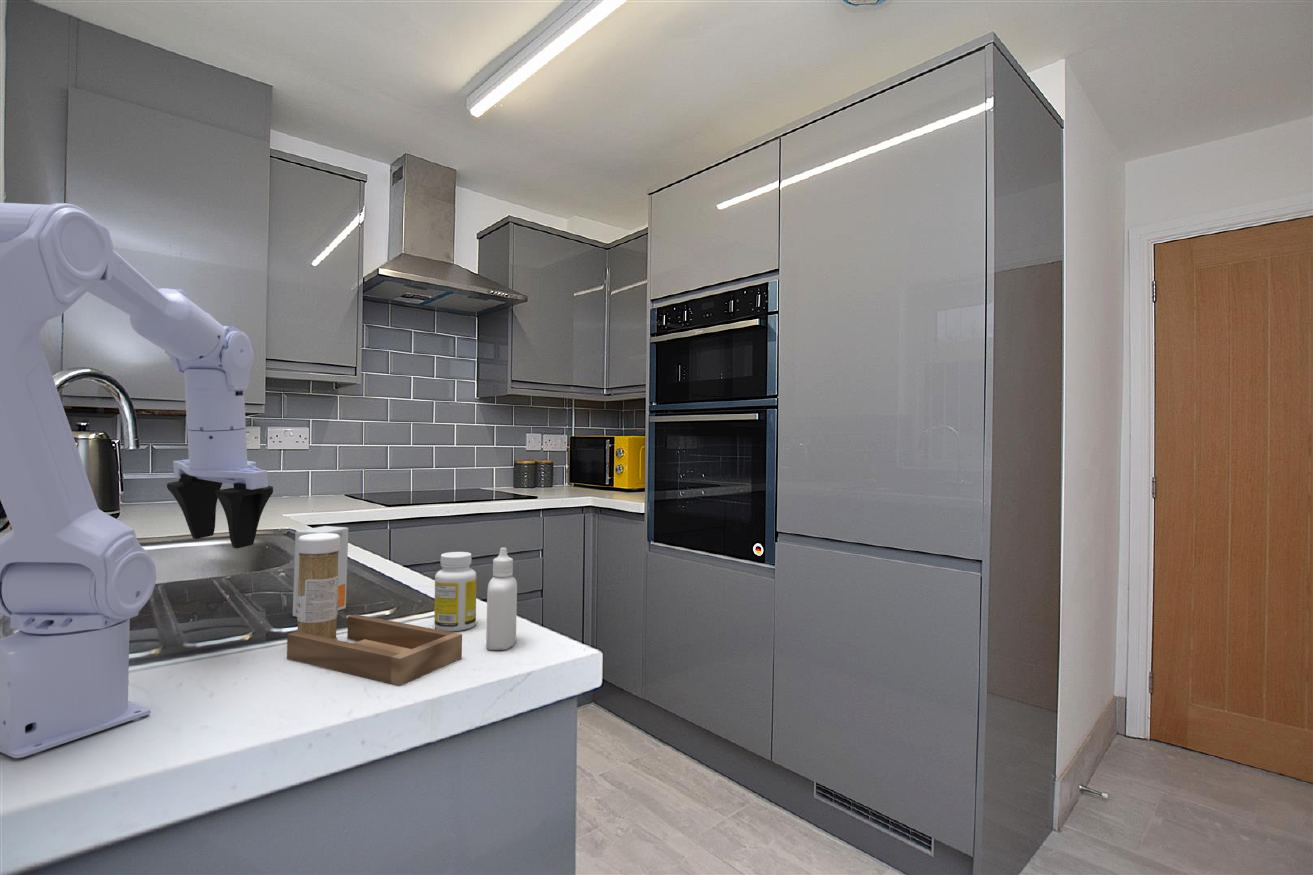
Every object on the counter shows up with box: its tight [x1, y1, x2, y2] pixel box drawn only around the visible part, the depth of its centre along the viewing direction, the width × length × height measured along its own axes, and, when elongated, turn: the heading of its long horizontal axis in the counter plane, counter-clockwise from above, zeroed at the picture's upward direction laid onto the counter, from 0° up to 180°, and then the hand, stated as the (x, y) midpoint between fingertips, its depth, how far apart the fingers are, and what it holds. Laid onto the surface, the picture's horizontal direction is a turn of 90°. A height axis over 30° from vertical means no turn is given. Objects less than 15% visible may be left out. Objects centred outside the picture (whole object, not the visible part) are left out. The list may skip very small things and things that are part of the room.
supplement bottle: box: [434, 551, 477, 632], centre depth 88 cm, size 5×5×10 cm
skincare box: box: [292, 525, 349, 618], centre depth 93 cm, size 6×4×12 cm
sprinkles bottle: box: [296, 533, 340, 640], centre depth 79 cm, size 5×5×14 cm
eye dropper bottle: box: [485, 547, 518, 651], centre depth 81 cm, size 4×6×12 cm
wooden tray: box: [286, 614, 463, 686], centre depth 75 cm, size 9×17×3 cm, turn 66°
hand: (222, 541), depth 78 cm, fingers open, 7 cm apart
